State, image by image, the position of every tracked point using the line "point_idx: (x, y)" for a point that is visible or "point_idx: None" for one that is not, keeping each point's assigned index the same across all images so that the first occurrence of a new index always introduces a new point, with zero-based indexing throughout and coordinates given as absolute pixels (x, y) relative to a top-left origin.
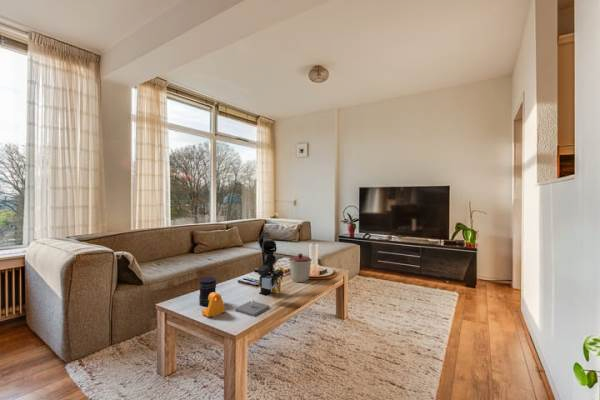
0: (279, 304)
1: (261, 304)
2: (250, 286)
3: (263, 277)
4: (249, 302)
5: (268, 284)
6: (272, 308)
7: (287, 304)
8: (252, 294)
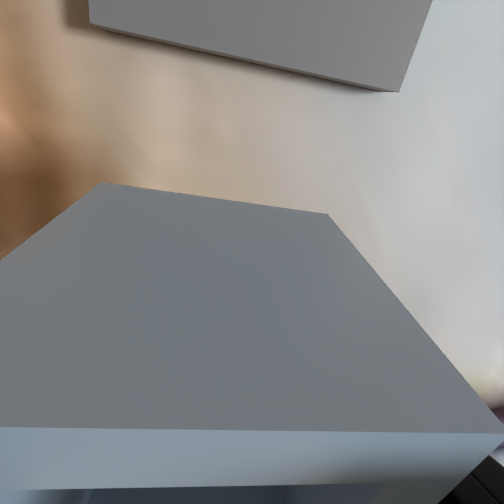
0: (73, 187)
1: (211, 11)
2: (481, 387)
3: (430, 501)
4: (403, 13)
5: (87, 239)
6: (57, 35)
7: (2, 220)
8: (431, 285)
